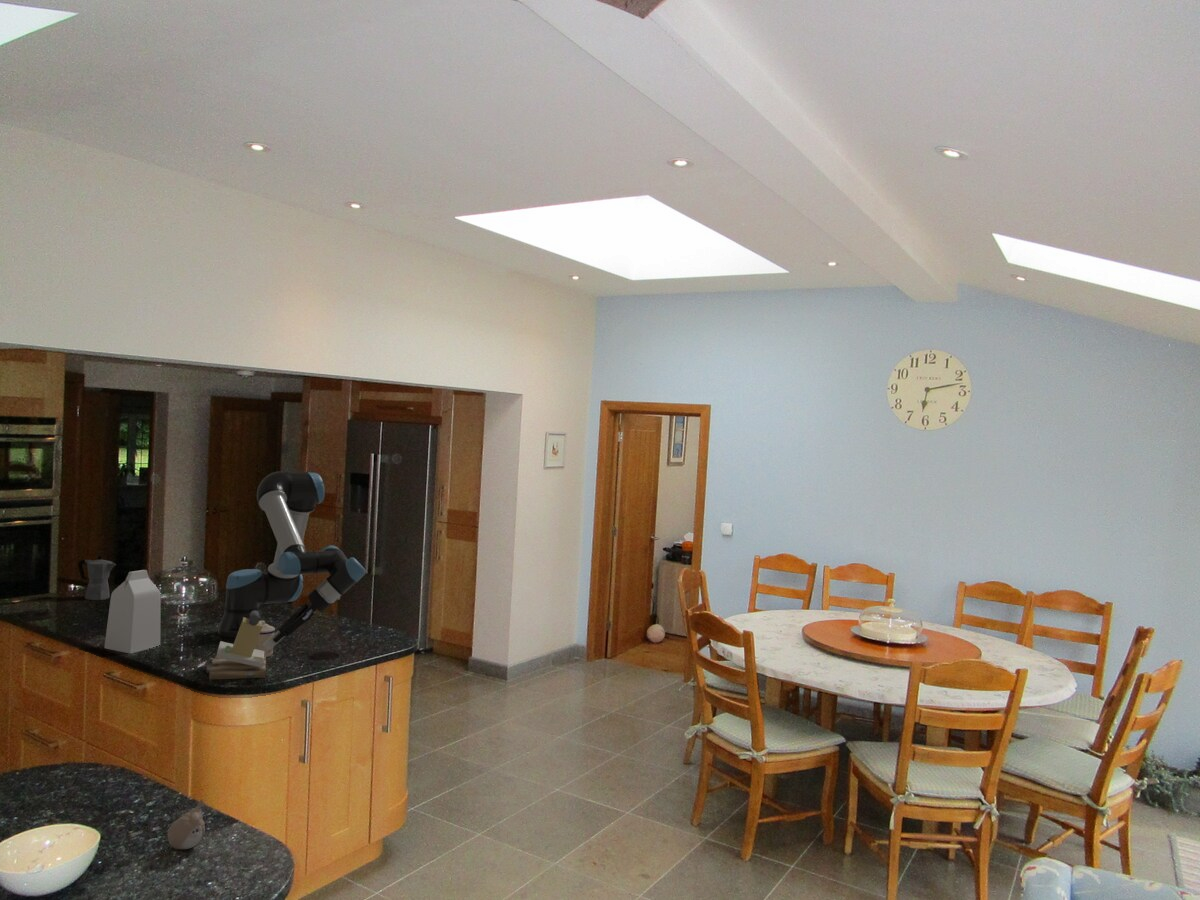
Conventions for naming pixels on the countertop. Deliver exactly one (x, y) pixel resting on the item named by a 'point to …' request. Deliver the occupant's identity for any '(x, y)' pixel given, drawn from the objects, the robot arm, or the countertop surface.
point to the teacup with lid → (265, 638)
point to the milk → (134, 615)
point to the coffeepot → (97, 578)
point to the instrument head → (244, 643)
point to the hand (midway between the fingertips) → (265, 647)
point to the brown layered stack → (234, 670)
